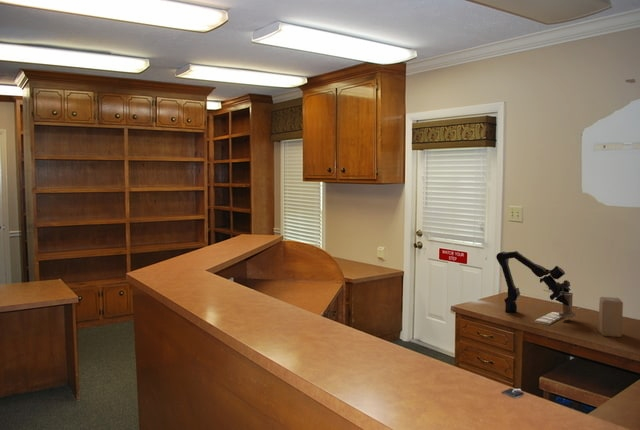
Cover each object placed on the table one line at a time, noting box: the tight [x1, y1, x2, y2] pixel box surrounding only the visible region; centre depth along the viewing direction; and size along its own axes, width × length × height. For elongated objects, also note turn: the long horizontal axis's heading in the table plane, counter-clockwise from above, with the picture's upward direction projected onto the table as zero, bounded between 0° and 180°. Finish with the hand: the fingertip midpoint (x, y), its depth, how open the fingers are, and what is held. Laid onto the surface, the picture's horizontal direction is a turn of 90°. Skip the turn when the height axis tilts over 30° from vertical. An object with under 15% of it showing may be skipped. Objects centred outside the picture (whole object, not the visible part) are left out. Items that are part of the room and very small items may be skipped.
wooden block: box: [598, 296, 624, 338], centre depth 288 cm, size 10×10×20 cm
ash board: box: [534, 311, 564, 326], centre depth 319 cm, size 26×8×1 cm, turn 134°
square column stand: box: [558, 292, 576, 319], centre depth 315 cm, size 7×7×14 cm
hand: (569, 304), depth 314 cm, fingers closed on square column stand, 4 cm apart
